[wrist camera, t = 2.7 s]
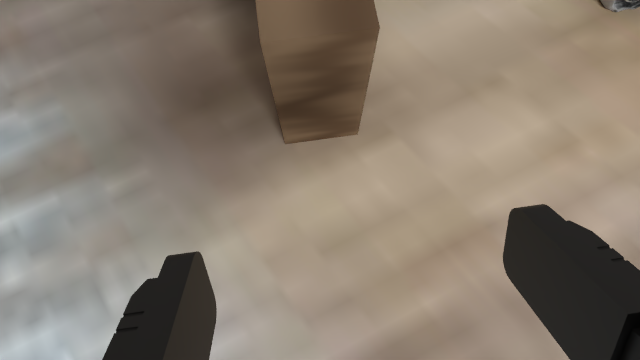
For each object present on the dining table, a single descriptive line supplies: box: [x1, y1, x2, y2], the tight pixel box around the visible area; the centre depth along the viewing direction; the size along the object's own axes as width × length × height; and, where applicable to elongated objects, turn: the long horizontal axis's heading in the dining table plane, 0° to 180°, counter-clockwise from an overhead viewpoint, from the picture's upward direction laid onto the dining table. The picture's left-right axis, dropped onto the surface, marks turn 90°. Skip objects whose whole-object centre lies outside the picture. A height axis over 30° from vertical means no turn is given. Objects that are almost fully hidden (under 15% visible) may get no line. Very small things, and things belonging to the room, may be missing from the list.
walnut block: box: [255, 0, 380, 144], centre depth 22 cm, size 5×5×11 cm
